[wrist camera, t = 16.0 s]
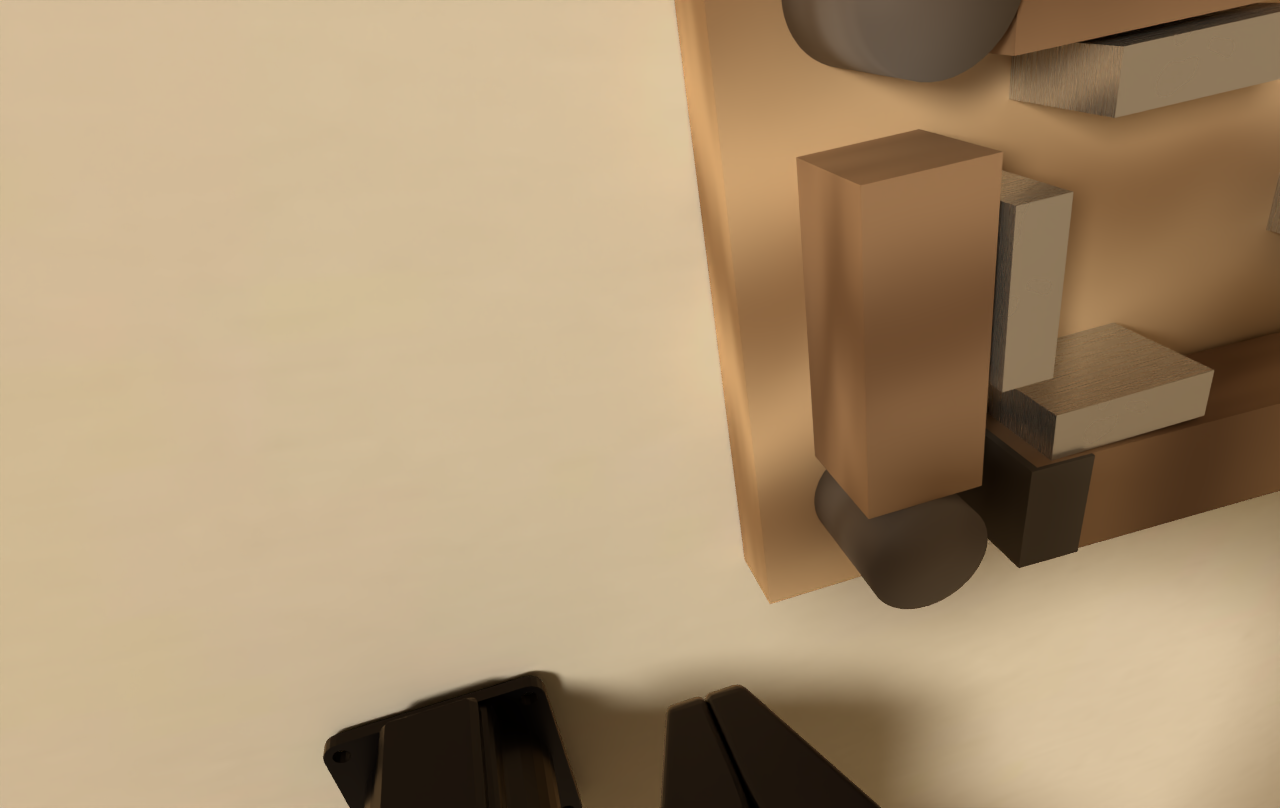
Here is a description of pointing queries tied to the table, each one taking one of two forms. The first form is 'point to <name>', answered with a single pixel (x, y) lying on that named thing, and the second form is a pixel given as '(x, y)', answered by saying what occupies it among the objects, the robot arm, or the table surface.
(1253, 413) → the leg
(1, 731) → the table surface
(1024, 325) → the brackets
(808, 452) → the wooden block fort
